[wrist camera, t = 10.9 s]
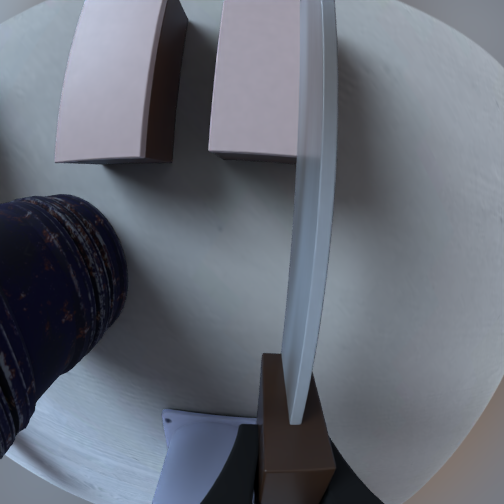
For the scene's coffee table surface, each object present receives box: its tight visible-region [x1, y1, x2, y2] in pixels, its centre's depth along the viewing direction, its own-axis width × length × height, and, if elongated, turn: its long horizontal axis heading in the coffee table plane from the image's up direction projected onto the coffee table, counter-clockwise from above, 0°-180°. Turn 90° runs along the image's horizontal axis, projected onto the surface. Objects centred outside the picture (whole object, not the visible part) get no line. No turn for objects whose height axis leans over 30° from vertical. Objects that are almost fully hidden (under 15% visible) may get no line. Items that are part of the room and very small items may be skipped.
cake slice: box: [208, 0, 300, 164], centre depth 12 cm, size 9×4×5 cm, turn 176°
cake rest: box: [55, 0, 188, 164], centre depth 12 cm, size 9×4×5 cm, turn 176°
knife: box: [253, 0, 338, 504], centre depth 6 cm, size 20×2×5 cm, turn 177°
